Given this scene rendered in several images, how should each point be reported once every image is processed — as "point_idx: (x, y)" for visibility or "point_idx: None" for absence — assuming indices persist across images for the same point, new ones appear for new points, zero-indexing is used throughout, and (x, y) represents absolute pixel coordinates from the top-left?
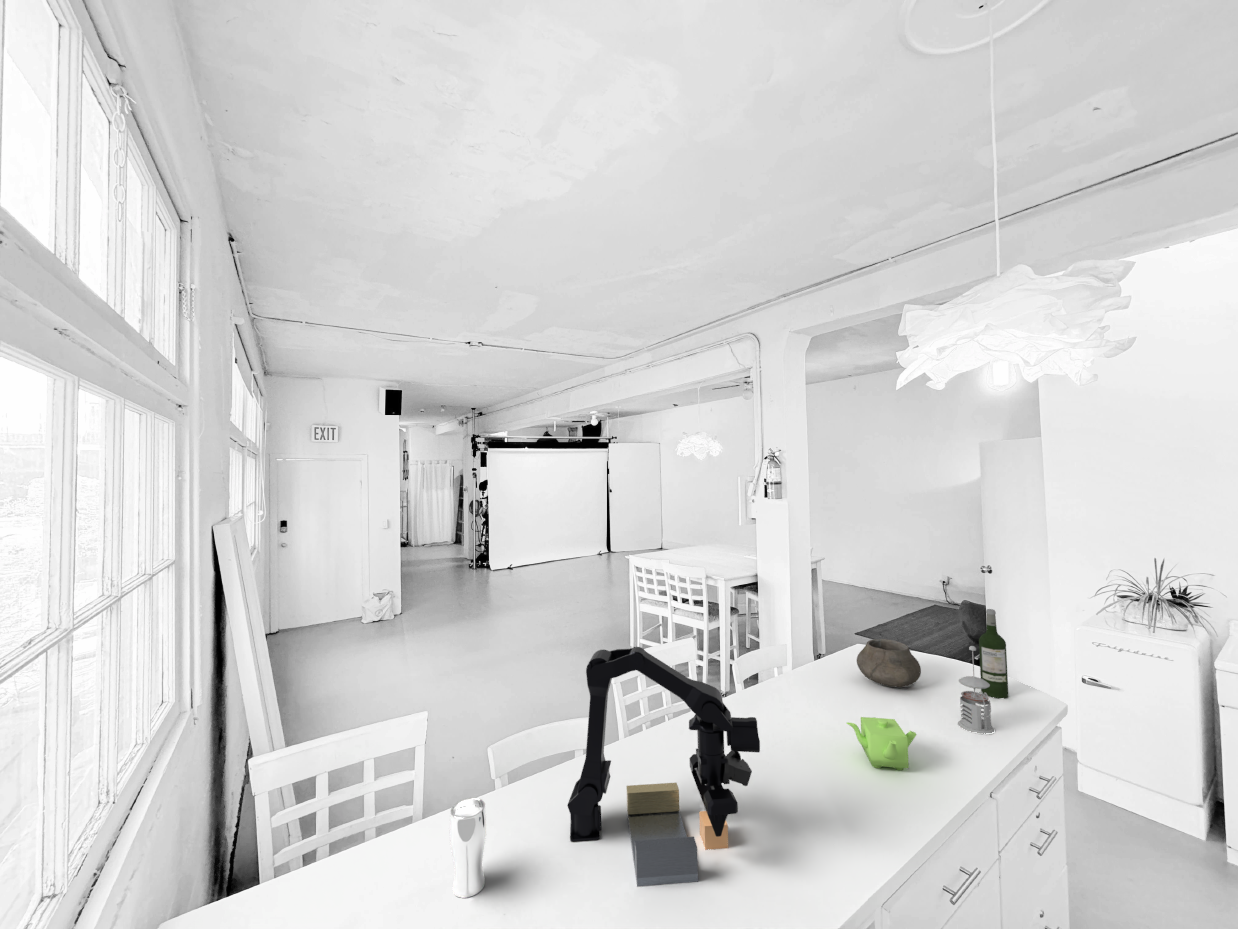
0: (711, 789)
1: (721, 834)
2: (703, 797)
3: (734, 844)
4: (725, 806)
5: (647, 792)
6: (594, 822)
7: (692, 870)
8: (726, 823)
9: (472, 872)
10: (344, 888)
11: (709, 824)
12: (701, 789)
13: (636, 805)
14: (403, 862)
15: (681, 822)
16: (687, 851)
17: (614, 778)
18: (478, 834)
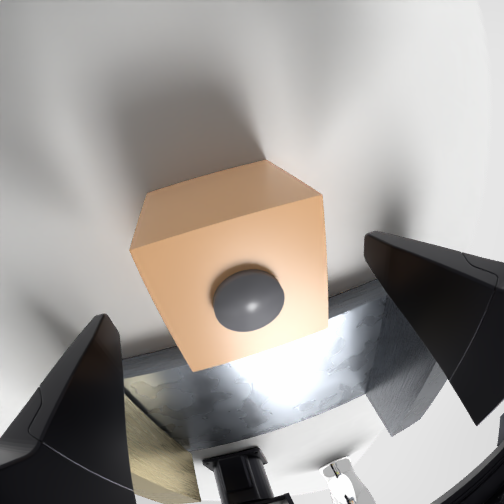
0: (61, 413)
1: (382, 233)
2: (115, 402)
3: (233, 126)
4: None
5: (176, 491)
6: (254, 474)
7: None
8: (308, 203)
9: (354, 473)
10: (321, 484)
11: (318, 310)
12: (117, 458)
13: (185, 467)
14: (297, 488)
15: (176, 370)
16: None
17: None
18: (371, 501)
